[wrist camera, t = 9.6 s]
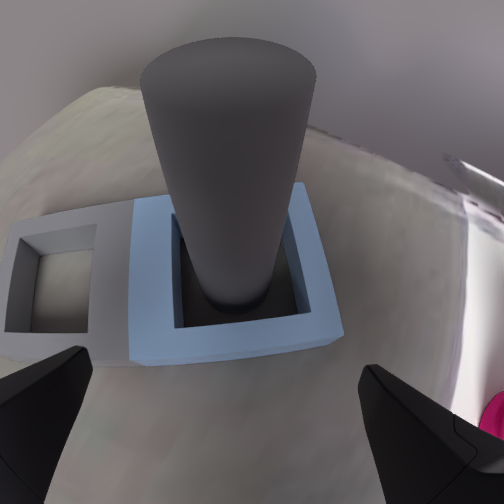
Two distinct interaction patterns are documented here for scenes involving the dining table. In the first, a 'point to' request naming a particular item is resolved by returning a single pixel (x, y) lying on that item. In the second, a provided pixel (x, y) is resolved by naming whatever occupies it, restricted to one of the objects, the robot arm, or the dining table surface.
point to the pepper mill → (494, 417)
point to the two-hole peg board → (155, 289)
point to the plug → (230, 155)
